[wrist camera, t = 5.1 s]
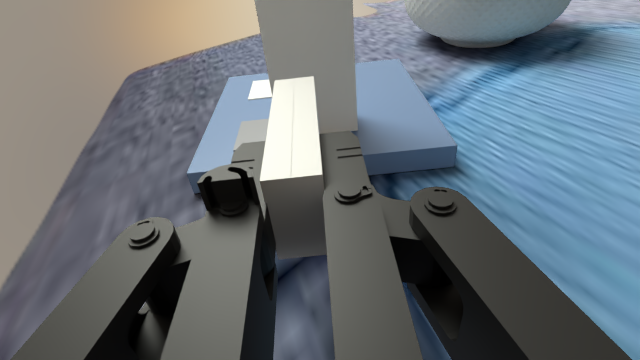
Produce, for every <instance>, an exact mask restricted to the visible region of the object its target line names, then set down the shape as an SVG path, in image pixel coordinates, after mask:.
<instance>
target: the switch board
mask: <svg viewBox="0 0 640 360" xmlns="http://www.w3.org/2000/svg"><path fill="white" fill-rule="evenodd" d="M355 73H356V98H357V123H358V130H357V131H351V132H352V133H353V134H354V135H356V136H357V137H358V139H359V143H360V147H361V150H362V155H363V158H364V162H365V166H366V169H367V173H368V175H378V174H387V173H397V172H407V171H417V170H426V169H436V168H446V167H454V166H455V159H456V152H457V144H456V143H455V141H454V140H453V138H452V137H451V135H450V134H449V132H448V131H447V129H446V128H445V126H444V125H443V123H442V122H441V121H440V119H439V118H438V116H437V115H436V113H435V112H434V110H433V109H432V107H431V106H430V104H429V103H428V101H427V100H426V99H425V97H424V96H423V94H422V93H421V91H420V90H419V88H418V87H417V85H416V84H415V82H414V81H413V79H412V78H411V76H410V75H409V74H408V72H407V71H406V69H405V68H404V66H403V65H402V63H401V62H400V60H399V59H392V60H383V61H374V62H365V63H355ZM271 102H272V93H271V87H270V82H269V76H268V73H264V74H255V75H246V76H237V77H229V79H228V82H227V84H226V86H225V88H224V91H223V93H222V95H221V97H220V100H219V102H218V104H217V106H216V109H215V111H214V113H213V115H212V118H211V120H210V122H209V124H208V127H207V129H206V131H205V133H204V136H203V138H202V140H201V142H200V145H199V147H198V149H197V151H196V154H195V156H194V158H193V160H192V163H191V165H190V167H189V169H188V172H187V176H188V178H189V181H190V184H191V186H192V189H193V192H194V193H200V190H199V187H198V185H197V182H198V181H199V179H200V178H201V176H203V175H204V174H205V173H207V172H208V171H210V170H212V169H214V168H216V167H219V166H223V165H228V164H231V160H232V156H233V153H234V151H235V150H236V149H237V148H238V147H239V146H240V145H241V144H242V143H249V142H259V141H266V135H267V128H268V122H269V115H270V108H271Z"/></svg>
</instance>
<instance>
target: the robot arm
mask: <svg viewBox="0 0 640 360" xmlns="http://www.w3.org/2000/svg"><path fill="white" fill-rule="evenodd" d="M197 185H198V187H199V190H200V193H201V196H202V198H203V201H204V204H205V206H206V209H207V211H206V214H205V217H204V218H202V219H200V220H197V221H195V222H192V223H189V224H186V225H183V226H180V227H177V228H174V226H173V224H172V223H171V222H170V221H169V220H168V219H165V218H161V217H156V218H148V219H145V220H141V221H138V222H136V223H135V224H133V225H131V226H129V227H128V228H126V229H125V230H124V231H123V232H122V233H121V234H120V235H119V236H118V237H117V238H116V239H115V240H114V242H113V243H112V244H111V245H110V246H109V247H108V248H107V250H106V251H105V252H104V253H103V254H102V255H101V256H100V258H99V259H98V260H97V261H96V262H95V263H94V264H93V266H92V267H91V268H90V269H89V270H88V271H87V272H86V274H85V275H84V276H83V277H82V278H81V279H80V281H79V282H78V283H77V284H76V285H75V286H74V287H73V289H72V290H71V291H70V292H69V293H68V294H67V295H66V297H65V298H64V299H63V300H62V301H61V302H60V303H59V305H58V306H57V307H56V308H55V309H54V310H53V311H52V313H51V314H50V315H49V316H48V317H47V318H46V319H45V321H44V322H43V323H42V324H41V325H40V326H39V328H38V329H37V330H36V331H35V332H34V333H33V334H32V336H31V337H30V338H29V339H28V340H27V341H26V342H25V344H24V345H23V346H22V347H21V348H20V349H19V350H18V352H17V353H16V354H15V355H14V356H13V357H12V358H11V360H273V351H274V333H275V316H276V298H277V280H278V273H277V268H276V264H275V251H276V252H277V256H278V259H287V258H296V257H306V256H316V255H326V254H327V260H328V273H329V286H330V299H331V312H332V324H333V337H334V350H335V360H423V358H422V354H421V351H420V347H419V343H418V340H417V336H416V332H415V329H414V325H413V322H412V318H411V314H410V311H409V307H408V303H407V300H406V296H405V293H404V289H403V285H402V282H407V285H408V288H409V289H410V291H411V293H412V294H413V296H414V298H415V299H416V301H417V303H418V304H419V306H420V308H421V309H422V311H423V313H424V314H425V316H426V318H427V319H428V321H429V323H430V324H431V326H432V327H433V329H434V331H435V332H436V334H437V336H438V337H439V339H440V341H441V342H442V344H443V346H444V347H445V349H446V351H447V352H448V354H449V356H450V357H451V359H452V360H632V359H631V358H630V357H629V356H628V355H627V354H626V353H625V352H624V351H623V350H622V349H621V348H620V347H619V346H618V345H617V344H616V343H615V342H614V341H613V340H612V339H610V338H609V337H608V336H607V335H606V334H605V333H604V332H603V331H602V330H601V329H600V328H599V327H598V326H597V325H596V324H595V323H594V322H593V321H592V320H591V319H590V318H589V317H588V316H587V315H586V314H585V313H584V312H583V311H582V310H581V309H580V308H579V307H578V306H577V305H576V304H575V303H574V302H573V301H572V300H571V299H570V298H569V297H568V296H566V295H565V294H564V293H563V292H562V291H561V290H560V289H559V288H558V287H557V286H556V285H555V284H554V283H553V282H552V281H551V280H550V279H549V278H548V277H547V276H546V275H545V274H544V273H543V272H542V271H541V270H540V269H539V268H538V267H537V266H536V265H535V264H534V263H533V262H532V261H531V260H530V259H529V258H528V257H527V256H526V255H525V254H523V253H522V252H521V251H520V250H519V249H518V248H517V247H516V246H515V245H514V244H513V243H512V242H511V241H510V240H509V239H508V238H507V237H506V236H505V235H504V234H503V233H502V232H501V231H500V230H499V229H498V228H497V227H496V226H495V225H494V224H493V223H492V222H491V221H490V220H489V219H488V218H487V217H486V216H485V215H484V214H483V213H482V212H481V211H479V210H478V209H477V208H476V207H475V206H474V205H473V204H472V203H471V202H470V201H469V200H468V199H467V198H466V197H465V196H463V195H462V194H460V193H459V192H458V191H455V190H452V189H449V188H444V187H430V188H424V189H422V190H420V191H417V192H416V193H415V194H414V195H413V196H412V197H411V201H404V200H396V199H391V198H388V197H385V196H382V195H381V194H379V193H377V191H376V190H375V188H374V187H373V185H371V184H370V181H369V177H368V173H367V169H366V166H365V162H364V158H363V155H362V150H361V147H360V143H359V139H358V137H357V136H356V135H354V134H353V133H352V132H351V131H341V132H332V133H322V134H320V129H319V120H318V111H317V102H316V93H315V84H314V76H311V77H302V78H293V79H284V80H275V82H274V88H273V95H272V102H271V108H270V115H269V122H268V128H267V135H266V141H259V142H249V143H242V144H241V145H240V146H239V147H238V148H237V149H236V150H235V151H234V153H233V156H232V160H231V164H228V165H223V166H219V167H216V168H214V169H212V170H210V171H208V172H207V173H205V174H204V175H203V176H201V178H200V179H199V181H198V182H197ZM145 302H146V303H145ZM144 303H145V305H144V306H143V304H144ZM142 306H143V308H142V309H141V307H142ZM140 309H141V310H140ZM139 310H140V311H139Z"/></svg>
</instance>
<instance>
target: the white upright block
mask: <svg viewBox="0 0 640 360" xmlns="http://www.w3.org/2000/svg"><path fill="white" fill-rule="evenodd" d="M255 5H256V11H257V16H258V22H259V27H260V33H261V38H262V43H263V49H264V54H265V60H266V65H267V71H268V76H269V82H270V87H271V93H272V95H273V88H274V82H275V80H284V79H293V78H302V77H311V76H314V84H315V93H316V102H317V111H318V120H319V129H320V134H322V133H332V132H341V131H357V130H358V123H357V98H356V73H355V49H354V24H353V2H352V0H255Z"/></svg>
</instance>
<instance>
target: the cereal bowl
mask: <svg viewBox="0 0 640 360" xmlns="http://www.w3.org/2000/svg"><path fill="white" fill-rule="evenodd" d="M570 1H571V0H405V6H406V10H407V13H408V15H409V17H410V18H411V20H412V21H413V22H414V24H416V25H417V26H418V27H419V28H420V29H422V30H423V31H425V32H427V33H429V34H432V35H434V36H437V37H441V39H442V40H443V41H444V42H446V43H448V44H450V45H454V46H459V47H467V48H486V47H496V46H501V45H505V44H508V43H510V42H511V41H513V40H514V39H515V38H518V37H522V36H525V35H528V34H532V33H534V32H537V31H538V30H541V29H542V28H544V27H546V26H548V25H549V24H551V23H552V22H553V21H554V20H555V19H557V18H558V17H559V16H560V15H561V14H562V13H563V12H564V10H565V9H566V8H567V6H568V5H569V3H570Z"/></svg>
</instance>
